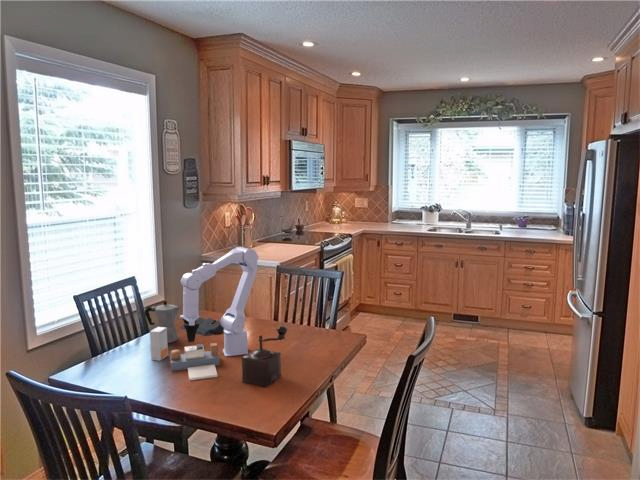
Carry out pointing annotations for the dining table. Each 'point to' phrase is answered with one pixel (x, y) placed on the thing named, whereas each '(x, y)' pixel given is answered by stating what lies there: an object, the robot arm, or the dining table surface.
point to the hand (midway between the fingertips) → (190, 338)
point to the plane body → (181, 363)
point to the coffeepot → (165, 319)
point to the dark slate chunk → (207, 327)
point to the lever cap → (194, 352)
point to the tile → (202, 372)
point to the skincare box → (158, 343)
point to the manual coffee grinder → (263, 363)
